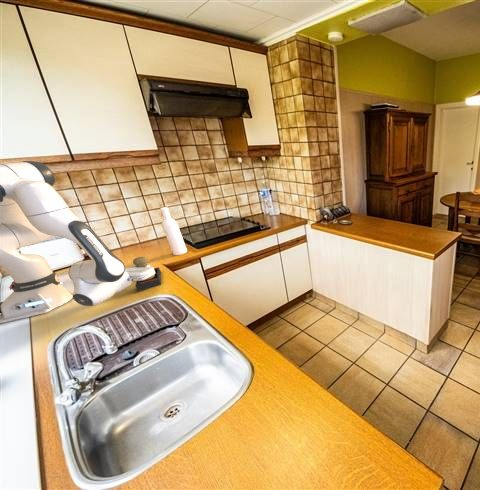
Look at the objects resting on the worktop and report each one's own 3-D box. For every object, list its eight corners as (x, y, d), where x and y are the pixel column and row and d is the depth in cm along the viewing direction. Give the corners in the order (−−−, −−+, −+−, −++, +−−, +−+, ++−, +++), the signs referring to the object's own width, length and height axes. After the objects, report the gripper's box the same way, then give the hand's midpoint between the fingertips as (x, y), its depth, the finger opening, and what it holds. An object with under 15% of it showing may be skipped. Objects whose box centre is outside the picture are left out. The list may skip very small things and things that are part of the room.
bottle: (174, 252, 173) (157, 207, 161) (187, 249, 176) (172, 205, 164) (172, 256, 166) (154, 210, 154) (186, 253, 169) (170, 208, 158)
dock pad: (138, 291, 128) (135, 285, 127) (140, 277, 142) (137, 272, 140) (161, 284, 133) (158, 279, 132) (160, 272, 147) (158, 267, 145)
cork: (146, 280, 129) (137, 260, 125) (136, 280, 131) (127, 260, 126) (157, 274, 135) (149, 255, 130) (148, 274, 136) (139, 254, 132)
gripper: (137, 273, 117) (161, 259, 129) (94, 274, 118) (122, 261, 131) (143, 285, 119) (166, 270, 132) (100, 286, 120) (127, 272, 133)
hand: (144, 266), depth 131 cm, fingers closed on cork, 4 cm apart
